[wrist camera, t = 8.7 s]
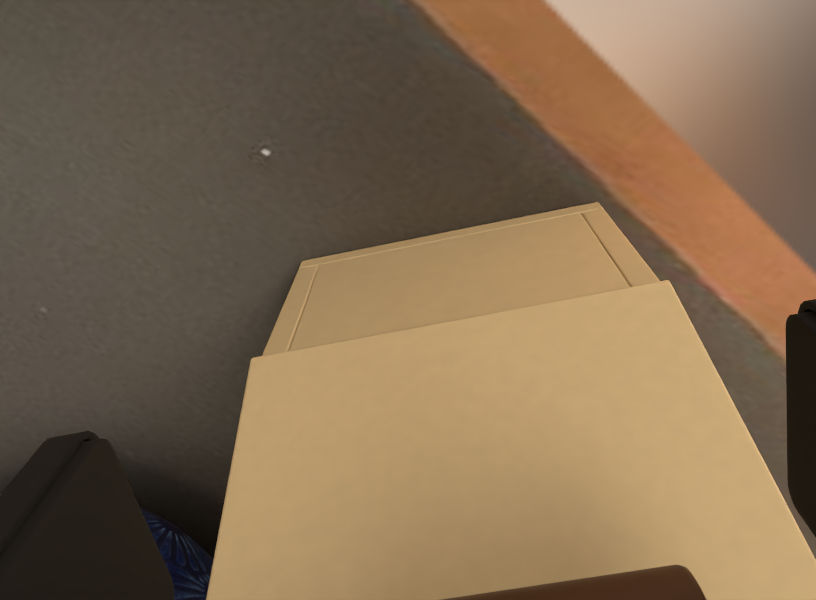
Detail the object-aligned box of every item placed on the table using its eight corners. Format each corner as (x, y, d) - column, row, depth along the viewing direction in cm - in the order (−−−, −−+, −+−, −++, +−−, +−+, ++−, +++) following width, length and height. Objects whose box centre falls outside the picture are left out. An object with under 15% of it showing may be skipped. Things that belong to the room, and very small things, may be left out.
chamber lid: (1035, 1031, 9) (1315, 907, 5) (139, 1105, 10) (-169, 1046, 6) (669, 303, 19) (672, 93, 15) (260, 378, 20) (174, 199, 17)
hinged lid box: (631, 481, 31) (692, 630, 24) (377, 522, 32) (365, 676, 25) (598, 201, 26) (663, 283, 19) (301, 260, 28) (258, 359, 20)
